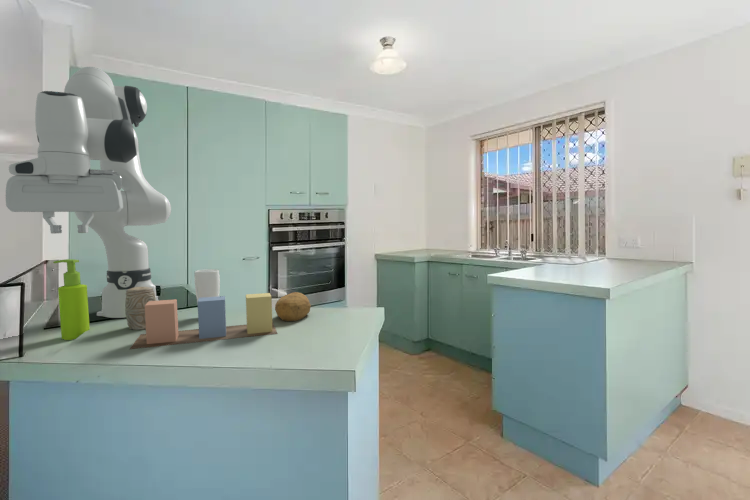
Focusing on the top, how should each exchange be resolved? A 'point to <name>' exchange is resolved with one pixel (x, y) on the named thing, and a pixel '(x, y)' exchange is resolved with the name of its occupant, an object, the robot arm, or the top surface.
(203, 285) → the white rectangular block
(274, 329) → the walnut board
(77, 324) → the soap dispenser
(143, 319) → the carving
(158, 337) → the terracotta block
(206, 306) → the slate block
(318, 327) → the top surface
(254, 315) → the ochre block
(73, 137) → the robot arm
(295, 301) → the potato
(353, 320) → the top surface
